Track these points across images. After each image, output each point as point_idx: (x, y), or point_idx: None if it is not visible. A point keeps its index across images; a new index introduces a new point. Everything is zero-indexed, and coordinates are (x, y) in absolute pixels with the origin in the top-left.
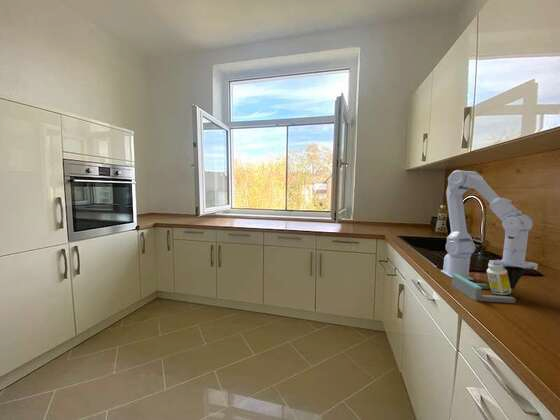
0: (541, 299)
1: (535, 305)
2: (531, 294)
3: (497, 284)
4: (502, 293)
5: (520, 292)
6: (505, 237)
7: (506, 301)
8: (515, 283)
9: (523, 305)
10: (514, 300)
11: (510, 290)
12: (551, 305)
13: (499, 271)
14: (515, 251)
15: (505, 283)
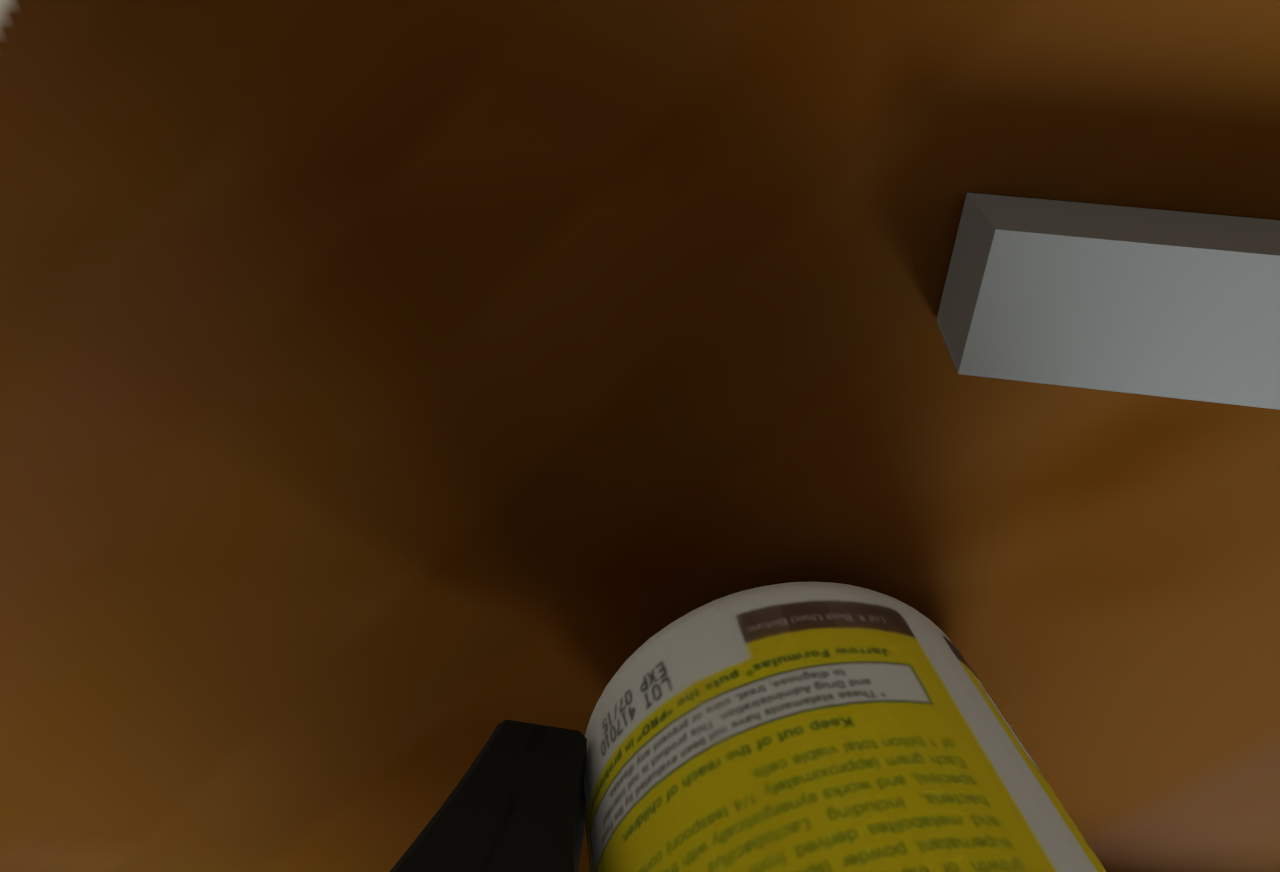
0: (63, 429)
1: (471, 78)
2: (109, 633)
3: (1096, 866)
4: (904, 612)
5: (260, 711)
6: None
7: (1238, 224)
8: (462, 843)
9: (851, 47)
10: (1006, 216)
11: (695, 653)
12: (41, 113)
13: None
14: None
15: (926, 852)
